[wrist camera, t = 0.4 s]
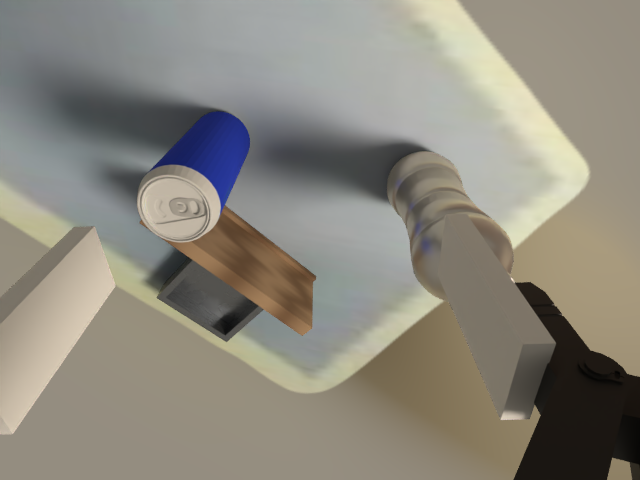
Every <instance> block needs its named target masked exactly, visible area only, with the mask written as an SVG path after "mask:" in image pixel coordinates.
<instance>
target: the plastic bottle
mask: <svg viewBox="0 0 640 480" xmlns="http://www.w3.org/2000/svg"><path fill="white" fill-rule="evenodd" d="M387 195H388V199H389V201H390V204H391V205H392V207H393V208H394V210H395V211H396V212H397V213H398V215H399V216H400V217H401V218H402V220H403V222H404V223H405V225H406V228H407V231H408V236H409V239H410V250H411V261H412V266H413V270H414V274H415V276H416V278H417V280H418V281H419V282H420V284H421V285H422V286H423V287H424V288H425V289H426V290H427V291H428V292H429V293H431V294H432V295H433V296H435V297H437V298H439V299H442V300H444V301H447V302H449V300H448V298H447V296H446V293H445V291H444V289H443V286H442V284H441V282H440V279H439V277H438V268H439V261H440V253H441V246H442V239H443V231H444V224H445V217H446V214H467V215H468V217H469V218H470V219H471V221H472V222H473V224H474V225H475V227H476V228H477V230H478V231H479V232H480V234H481V235H482V237H483V238H484V240H485V241H486V243H487V244H488V245H489V247H490V248H491V250H492V251H493V253H494V254H495V256H496V257H497V258H498V260H499V261H500V263H501V264H502V266H503V267H504V269H505V270H506V271H507V273H508V274H509V276H510V277H511V275H510V274H511V270H512V267H513V262H514V258H513V257H514V256H513V249H512V244H511V241H510V238H509V236H508V235H507V233H506V232H505V231H504V230H503V229H502V228H501V227H500V226H499V225H498V224H497V223H496V222H495V221H494V220H492V219H491V218H490V217H489V216H488V215H486V214H485V213H484V212H483V211H481V210H480V209H479V208H478V207H477V206H476V205H475V204H474V203H473V202H472V201H471V200H470V198H469V197H468V196H467V194H466V192H465V190H464V188H463V185H462V181H461V178H460V175H459V173H458V170H457V169H456V167H455V166H454V164H453V163H451V162H450V161H449V160H448V159H446V158H444V157H443V156H441V155H439V154H437V153H434V152H428V151H420V152H415V153H412V154H409V155H407V156H405V157H403V158H402V159H400V160H399V161H398V162H397V163H396V164H395V165H394V167H393V168H392V170H391V172H390V174H389V177H388V181H387ZM511 279H512V280H513V278H512V277H511ZM513 282H514V283H516V282H515V281H514V280H513ZM449 304H450V302H449ZM450 306H451V305H450ZM451 308H452V307H451ZM452 310H453V309H452Z"/></svg>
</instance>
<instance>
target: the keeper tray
mask: <svg viewBox="0 0 640 480" xmlns="http://www.w3.org/2000/svg"><path fill="white" fill-rule="evenodd" d="M157 298H158V299H159V300H161V301H162V302H164V303H166V304H167V305H169V306H170V307H172V308H174V309H175V310H177V311H178V312H180V313H181V314H183V315H185V316H186V317H188V318H189V319H191V320H193V321H194V322H196V323H197V324H199V325H200V326H202V327H204V328H205V329H207V330H208V331H210V332H212V333H213V334H215V335H216V336H218V337H219V338H221V339H223V340H224V341H226V342H227V341H228V340H229V339H230V338H232V337H233V336H234V335H235V334H236V333H237V332H238V331H240V330H241V329H242V328H243V327H244V326H245V325H246V324H248V323H249V322H250V321H251V320H252V319H253V318H254V317H256V316H257V315H258V314H259V313H260V312H261V311H262V310H264V309H263V308H261V307H260V306H258V305H257V304H256V303H254V302H253V301H251V300H250V299H248V298H247V297H245V296H244V295H243V294H241V293H240V292H238V291H237V290H235V289H234V288H233V287H231V286H230V285H228V284H227V283H225V282H224V281H222V280H221V279H220V278H218V277H217V276H215V275H214V274H212V273H211V272H209V271H208V270H207V269H205V268H204V267H202V266H201V265H199V264H198V263H197V262H195V261H194V260H192V259H191V258H188V259H187V260H186V261H185V262H184V263H183V264H182V265H181V266H180V268H179V269H178V270H177V271H176V272H175V273H174V274H173V275H172V276H171V277H170V278H169V279H168V280H167V281H166V282H165V283H164V285H163V287H162V289H161V290H160V292H159V294H158V296H157Z"/></svg>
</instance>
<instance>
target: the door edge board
mask: <svg viewBox="0 0 640 480" xmlns="http://www.w3.org/2000/svg"><path fill="white" fill-rule="evenodd" d="M140 224H142V225H143V226H145V227H146V228H148V227H147V226H146V225H145V224H144V222H143V221H142V220H141V221H140ZM148 229H149V228H148ZM149 230H150V229H149ZM150 231H151V230H150ZM162 239H163V238H162ZM163 240H165V241H166V242H168V243H169V244H171V245H172V246H173V247H175V248H176V249H178V250H179V251H181V252H182V253H184V254H185V255H186V256H188V257H189V258H191V259H192V260H194V261H195V262H197V263H198V264H199V265H201V266H202V267H204V268H205V269H207V270H208V271H209V272H211V273H212V274H214V275H215V276H217V277H218V278H220V279H221V280H222V281H224V282H225V283H227V284H228V285H230V286H231V287H233V288H234V289H235V290H237V291H238V292H240V293H241V294H243V295H244V296H245V297H247V298H248V299H250V300H251V301H253V302H254V303H256V304H257V305H258V306H260V307H261V308H263V309H264V310H266V311H267V312H269V313H270V314H271V315H273V316H274V317H276V318H277V319H279V320H280V321H281V322H283V323H284V324H286V325H287V326H289V327H290V328H292V329H293V330H294V331H296V332H297V333H299V334H300V335H302V336H303V335H304V334H305V333H307V332H308V331H309V330H310V329H312V303H313V281H315V280H316V276H315V275H314V274H312V273H311V272H310V271H309V270H307V269H306V268H305V267H303V266H302V265H301V264H300V263H298V262H297V261H296V260H294V259H293V258H292V257H291V256H289V255H288V254H287V253H285V252H284V251H283V250H282V249H280V248H279V247H278V246H276V245H275V244H274V243H273V242H271V241H270V240H269V239H267V238H266V237H265V236H264V235H262V234H261V233H260V232H258V231H257V230H256V229H255V228H253V227H252V226H251V225H249V224H248V223H247V222H246V221H244V220H243V219H242V218H240V217H239V216H238V215H237V214H235V213H234V212H233V211H231V210H230V209H229V208H228V207H226V206H224V208H223V210H222V212H221V215H220V217H219V219H218V221H217V223H216V224H215V226H214V227H213V228H212V229H211V230H210V231H209V232H207V233H206V234H204V235H203V236H201V237H200V238H198V239H196V240H193V241H190V242H172V241H169V240H166V239H163Z"/></svg>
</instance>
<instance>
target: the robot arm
mask: <svg viewBox="0 0 640 480" xmlns="http://www.w3.org/2000/svg"><path fill="white" fill-rule="evenodd" d="M438 277H439V279H440V282H441V284H442V286H443V289H444V291H445V293H446V296H447V298H448V300H449V302H450V305H451V307H452V309H453V311H454V314H455V316H456V318H457V321H458V323H459V325H460V328H461V330H462V332H463V334H464V337H465V339H466V341H467V344H468V346H469V348H470V351H471V353H472V355H473V357H474V360H475V362H476V364H477V367H478V369H479V371H480V374H481V375H482V378H483V380H484V383H485V385H486V387H487V390H488V392H489V394H490V396H491V399H492V401H493V403H494V406H495V408H496V410H497V413H498V415H499V417H500V419H501V420H513V419H514V420H516V419H530V416H531V414H532V411H533V408H534V405H536V407H537V409H538V411H539V412H540V415H541V416H540V418H539V421H538V423H537V426H536V428H535V430H534V433H533V435H532V437H531V440H530V442H529V444H528V447H527V449H526V452H525V454H524V456H523V459H522V461H521V463H520V466H519V468H518V470H517V473H516V475H515V478H514V480H607V477H608V473H609V468H610V464H611V460H612V458H616V459H620V460H624V461H628V462H630V467H631V473H632V480H640V377H637V376H633V375H629V374H627V373H626V372H625V370H624V369H623V367H621V366H620V365H619V364H618V363H617V362H615V361H614V360H613V359H611V358H609V357H607V356H605V355H603V354H601V353H597V352H594V351H590V349H589V348H588V347H587V346H586V344H585V343H584V342H583V340H582V339H581V338H580V337H579V335H578V334H577V333H576V331H575V330H574V329H573V327H572V326H571V325H570V324H569V322H568V321H567V320H566V319H565V317H564V316H562V313H561V312H560V311H559V309H558V308H557V307H555V306H554V303H553V302H552V300H551V299H550V298H549V296H548V295H547V294H546V293H545V292H544V291H543V290H541V289H540V288H538V287H537V286H535V285H534V284H532V283H531V282H524V283H514V282H513V280H512V279H511V277H510V276H509V274H508V273H507V271H506V270H505V269H504V267H503V266H502V264H501V263H500V261H499V260H498V258H497V257H496V256H495V254H494V253H493V251H492V250H491V248H490V247H489V245H488V244H487V243H486V241H485V240H484V238H483V237H482V235H481V234H480V232H479V231H478V230H477V228H476V227H475V225H474V224H473V222H472V221H471V219H470V218H469V217H468V215H467V214H446V217H445V224H444V231H443V239H442V246H441V253H440V261H439V268H438ZM115 286H116V285H115V282H114V280H113V277H112V274H111V271H110V268H109V266H108V263H107V260H106V257H105V254H104V252H103V249H102V246H101V243H100V240H99V238H98V235H97V232H96V229H95V226H91V227H74V228H73V229H72V230H71V231H70V232H69V233H67V234H66V235H65V236H64V237H63V238H62V239H61V240H60V241H59V242H58V243H57V244H56V245H55V246H54V247H53V248H52V249H51V250H50V251H49V252H48V253H47V254H45V255H44V256H43V257H42V258H41V259H40V260H39V261H38V262H37V263H36V264H35V265H34V266H33V267H32V268H31V269H30V270H29V271H28V272H27V273H26V274H24V275H23V276H22V278H20V279H19V280H18V281H17V282H16V283H15V284H14V285H13V286H12V287H11V288H10V289H9V290H8V291H7V292H6V293H5V294H4V295H2V296H1V297H0V434H13V433H14V431H15V430H16V428H17V427H18V426H19V424H20V423H21V421H22V420H23V418H24V417H25V415H26V414H27V413H28V411H29V410H30V408H31V407H32V405H33V404H34V402H35V401H36V400H37V398H38V397H39V395H40V394H41V392H42V391H43V390H44V388H45V387H46V385H47V384H48V382H49V381H50V379H51V378H52V376H53V375H54V373H55V372H56V371H57V369H58V368H59V367H60V365H61V364H62V362H63V360H64V359H65V358H66V356H67V355H68V353H69V352H70V351H71V349H72V348H73V346H74V345H75V343H76V342H77V340H78V339H79V338H80V336H81V335H82V333H83V332H84V330H85V329H86V328H87V326H88V325H89V323H90V321H91V320H92V319H93V317H94V316H95V315H96V313H97V312H98V310H99V309H100V307H101V306H102V304H103V303H104V301H105V300H106V299H107V297H108V296H109V294H110V293H111V291H112V290H113V289H114V287H115Z"/></svg>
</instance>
